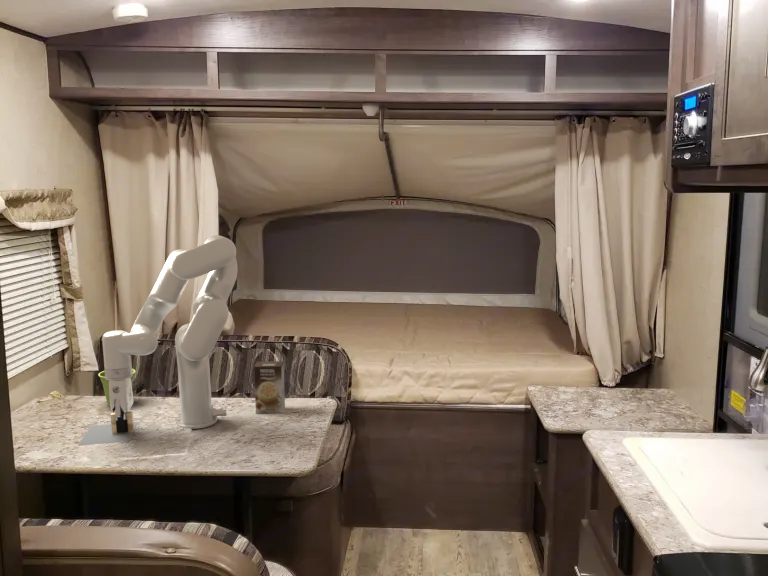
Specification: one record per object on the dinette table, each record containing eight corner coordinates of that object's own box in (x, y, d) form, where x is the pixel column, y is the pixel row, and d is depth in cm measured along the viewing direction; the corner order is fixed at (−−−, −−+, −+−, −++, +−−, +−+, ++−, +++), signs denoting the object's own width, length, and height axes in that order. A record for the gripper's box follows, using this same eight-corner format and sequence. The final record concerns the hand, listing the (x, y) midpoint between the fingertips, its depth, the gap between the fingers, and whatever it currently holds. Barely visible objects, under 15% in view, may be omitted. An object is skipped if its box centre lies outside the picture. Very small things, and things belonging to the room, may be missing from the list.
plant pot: (124, 410, 220) (121, 378, 218) (93, 408, 222) (90, 376, 221) (144, 399, 231) (142, 368, 229) (114, 397, 234) (112, 366, 232)
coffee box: (254, 414, 214) (252, 366, 212) (258, 407, 221) (256, 361, 218) (283, 413, 214) (281, 366, 212) (285, 407, 221) (283, 360, 218)
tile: (134, 430, 200) (132, 411, 199) (133, 432, 198) (131, 413, 198) (113, 431, 199) (111, 412, 198) (112, 433, 197) (110, 414, 196)
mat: (138, 423, 207) (138, 422, 207) (129, 443, 192) (129, 441, 192) (91, 427, 205) (91, 425, 205) (77, 447, 189) (77, 445, 189)
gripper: (126, 378, 189) (131, 439, 192) (136, 364, 204) (140, 421, 207) (99, 380, 188) (104, 441, 191) (110, 366, 203) (115, 423, 206)
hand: (123, 430), depth 199 cm, fingers closed on tile, 1 cm apart
